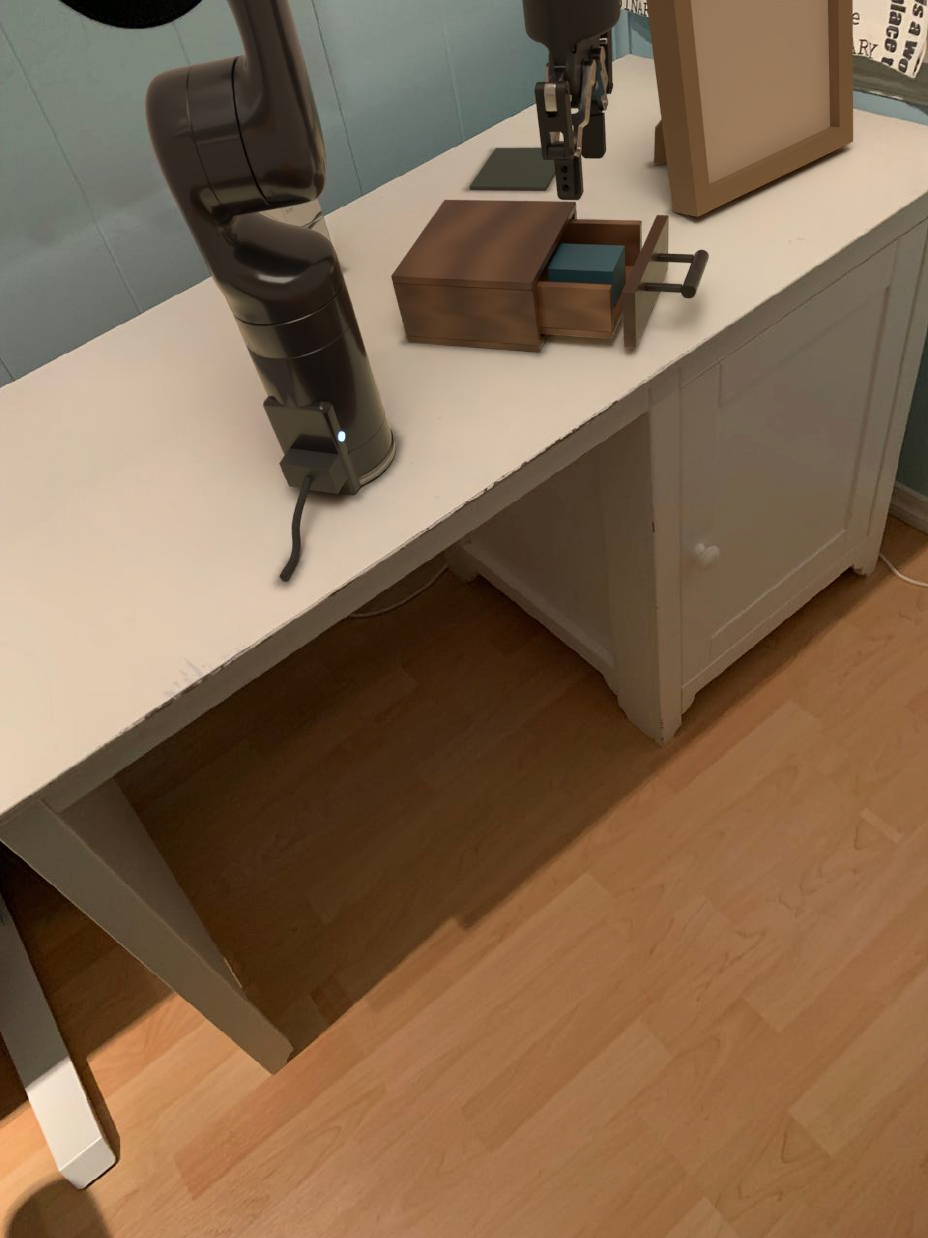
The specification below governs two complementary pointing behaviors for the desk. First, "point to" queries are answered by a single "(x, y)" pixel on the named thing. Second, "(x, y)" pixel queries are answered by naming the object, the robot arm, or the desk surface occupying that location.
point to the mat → (515, 170)
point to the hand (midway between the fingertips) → (582, 176)
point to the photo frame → (748, 92)
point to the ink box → (301, 216)
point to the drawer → (592, 304)
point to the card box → (590, 266)
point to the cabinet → (480, 273)
